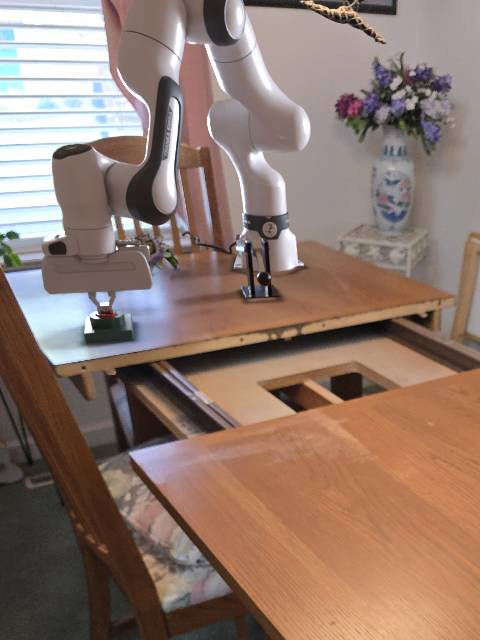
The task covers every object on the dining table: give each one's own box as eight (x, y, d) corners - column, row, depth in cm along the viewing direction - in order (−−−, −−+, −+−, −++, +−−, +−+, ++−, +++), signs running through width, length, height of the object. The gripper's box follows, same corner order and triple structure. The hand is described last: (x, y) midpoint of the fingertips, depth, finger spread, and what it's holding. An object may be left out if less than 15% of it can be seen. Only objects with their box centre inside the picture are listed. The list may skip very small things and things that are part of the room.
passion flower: (153, 295, 186) (119, 260, 177) (149, 276, 193) (115, 241, 184) (187, 269, 184) (153, 232, 175) (181, 251, 191) (148, 215, 182)
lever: (272, 289, 161) (272, 278, 159) (258, 289, 161) (258, 278, 158) (262, 249, 167) (262, 238, 164) (248, 249, 166) (248, 238, 163)
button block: (88, 326, 149) (84, 307, 147) (133, 323, 152) (129, 304, 149) (86, 344, 141) (81, 324, 138) (133, 341, 143) (130, 321, 141)
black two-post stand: (280, 300, 168) (276, 244, 161) (246, 302, 166) (241, 245, 159) (273, 289, 176) (270, 234, 168) (241, 291, 173) (236, 236, 166)
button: (98, 319, 146) (97, 311, 145) (117, 318, 147) (115, 309, 146) (98, 325, 143) (96, 316, 142) (117, 323, 144) (115, 315, 143)
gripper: (147, 235, 141) (158, 305, 149) (35, 239, 135) (53, 311, 143) (148, 243, 136) (159, 314, 144) (32, 246, 130) (51, 321, 138)
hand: (106, 313), depth 144 cm, fingers closed, pressing on button
